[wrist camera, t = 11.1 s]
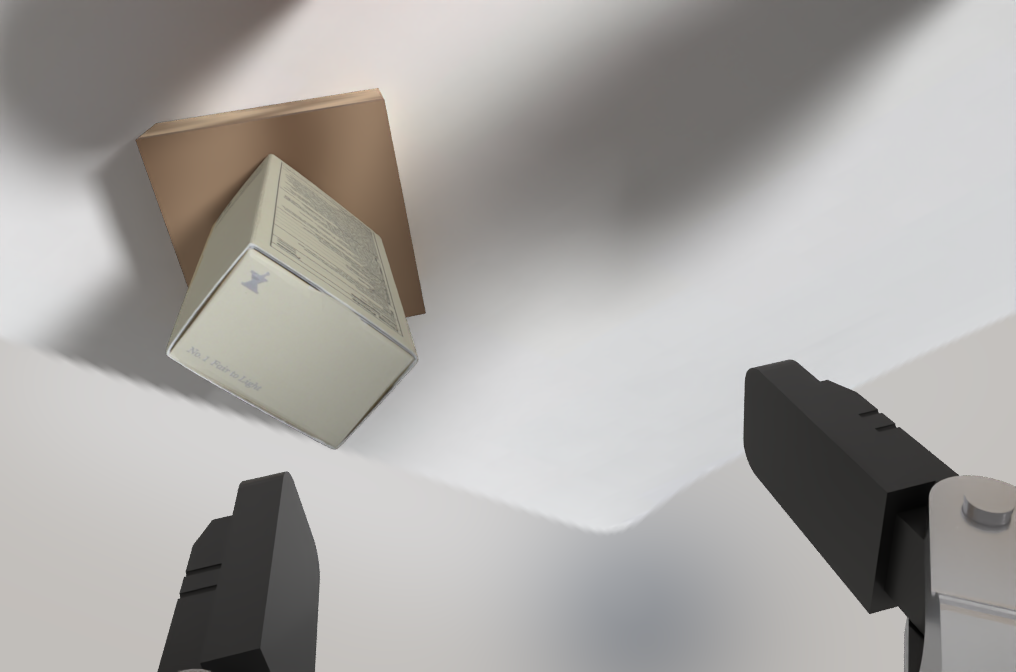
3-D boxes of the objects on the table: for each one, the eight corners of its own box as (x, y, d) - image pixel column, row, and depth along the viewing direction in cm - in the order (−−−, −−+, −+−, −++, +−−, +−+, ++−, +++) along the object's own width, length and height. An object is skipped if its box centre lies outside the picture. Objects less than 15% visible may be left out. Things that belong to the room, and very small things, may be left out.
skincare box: (210, 226, 31) (148, 353, 20) (273, 146, 30) (244, 234, 19) (330, 309, 33) (333, 459, 23) (391, 238, 33) (423, 359, 22)
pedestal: (378, 88, 34) (384, 99, 30) (416, 283, 38) (425, 313, 35) (156, 123, 32) (135, 140, 29) (223, 321, 37) (213, 357, 33)
